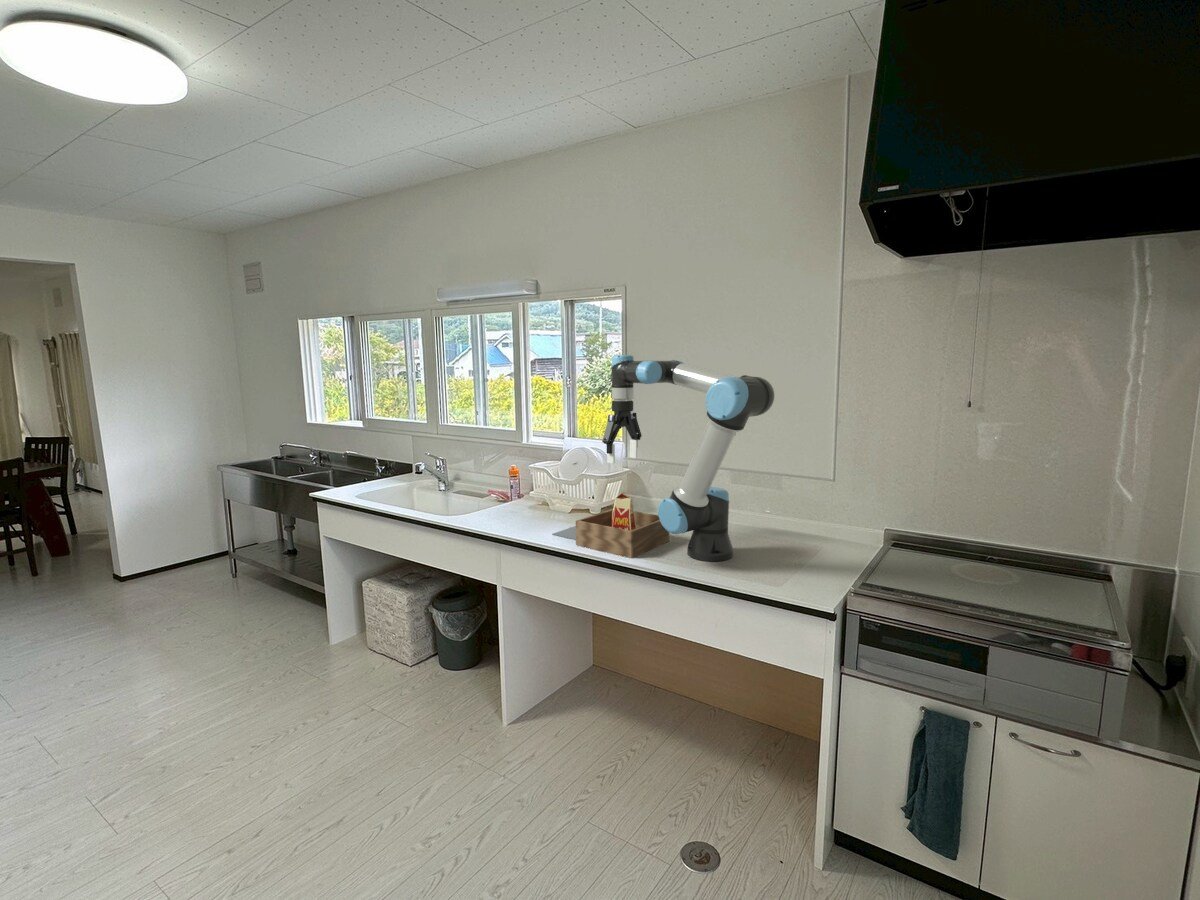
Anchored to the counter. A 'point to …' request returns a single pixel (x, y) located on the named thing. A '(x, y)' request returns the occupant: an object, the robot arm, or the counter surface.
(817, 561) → the counter surface
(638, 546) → the walnut surround
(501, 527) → the counter surface
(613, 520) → the milk carton
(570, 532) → the slate mat
